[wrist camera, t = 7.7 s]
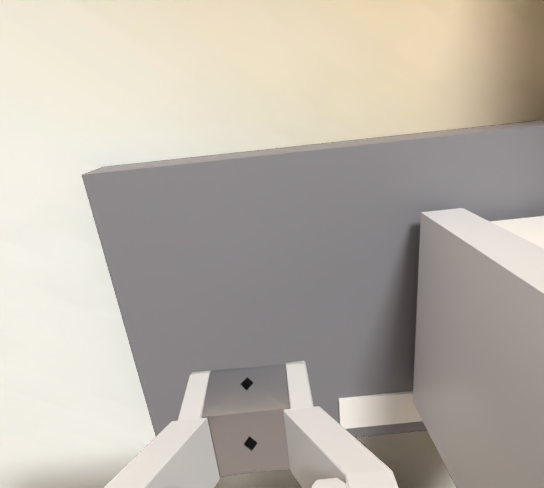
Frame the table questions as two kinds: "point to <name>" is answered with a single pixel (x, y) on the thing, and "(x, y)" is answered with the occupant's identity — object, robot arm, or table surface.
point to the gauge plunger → (482, 346)
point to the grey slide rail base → (298, 258)
